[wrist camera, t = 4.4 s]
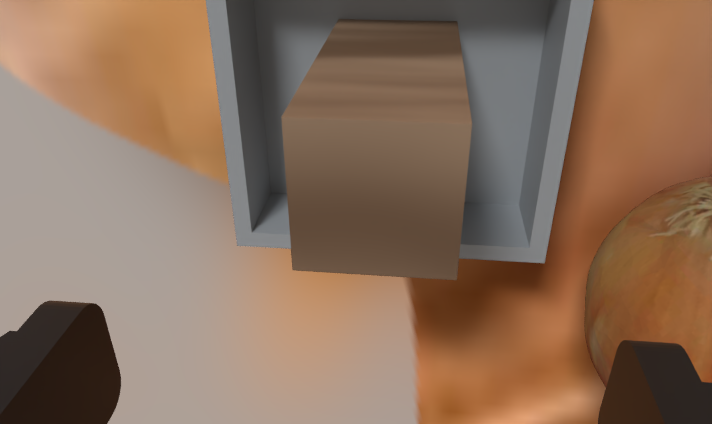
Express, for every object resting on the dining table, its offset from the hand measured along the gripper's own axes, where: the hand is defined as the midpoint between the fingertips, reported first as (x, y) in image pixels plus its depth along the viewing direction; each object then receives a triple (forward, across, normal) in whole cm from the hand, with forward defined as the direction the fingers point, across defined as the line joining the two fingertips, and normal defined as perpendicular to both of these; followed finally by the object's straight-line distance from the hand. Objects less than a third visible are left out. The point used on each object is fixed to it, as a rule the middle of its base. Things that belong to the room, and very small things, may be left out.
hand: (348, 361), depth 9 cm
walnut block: (+14, 0, 0) cm, 14 cm away
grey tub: (+14, 0, 0) cm, 14 cm away
